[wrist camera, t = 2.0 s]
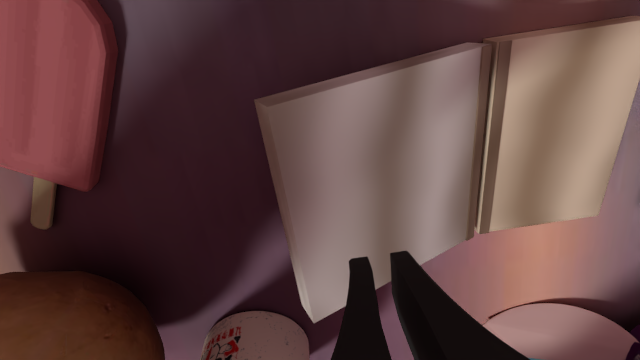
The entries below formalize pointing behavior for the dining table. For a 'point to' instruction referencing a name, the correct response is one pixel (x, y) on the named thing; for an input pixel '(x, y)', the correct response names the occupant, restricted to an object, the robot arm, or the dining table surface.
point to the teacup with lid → (256, 338)
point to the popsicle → (55, 94)
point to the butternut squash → (73, 319)
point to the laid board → (555, 121)
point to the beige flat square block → (377, 166)
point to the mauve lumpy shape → (564, 333)
